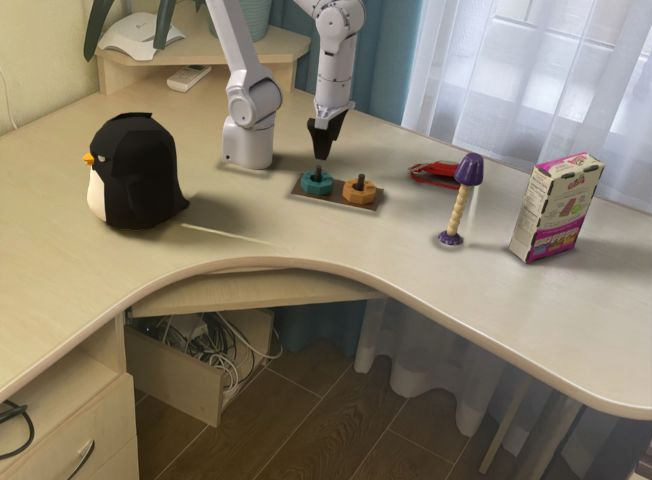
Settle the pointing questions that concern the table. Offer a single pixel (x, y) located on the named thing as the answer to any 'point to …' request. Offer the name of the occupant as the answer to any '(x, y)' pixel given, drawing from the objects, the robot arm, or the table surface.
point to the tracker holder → (435, 171)
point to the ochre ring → (359, 192)
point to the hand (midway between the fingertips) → (326, 149)
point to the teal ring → (315, 187)
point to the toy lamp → (463, 194)
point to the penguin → (134, 173)
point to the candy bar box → (555, 206)
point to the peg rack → (338, 191)
